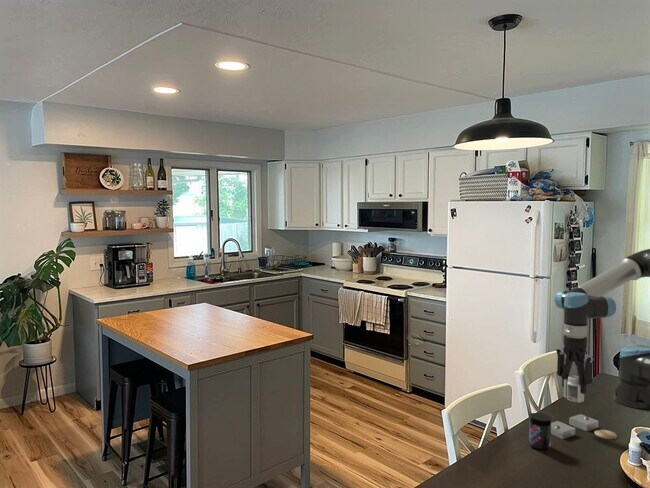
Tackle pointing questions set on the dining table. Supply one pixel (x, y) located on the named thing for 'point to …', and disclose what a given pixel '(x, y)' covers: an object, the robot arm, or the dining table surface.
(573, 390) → the pill bottle
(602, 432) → the cork coaster
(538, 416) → the supplement container
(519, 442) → the dining table surface
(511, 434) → the dining table surface
